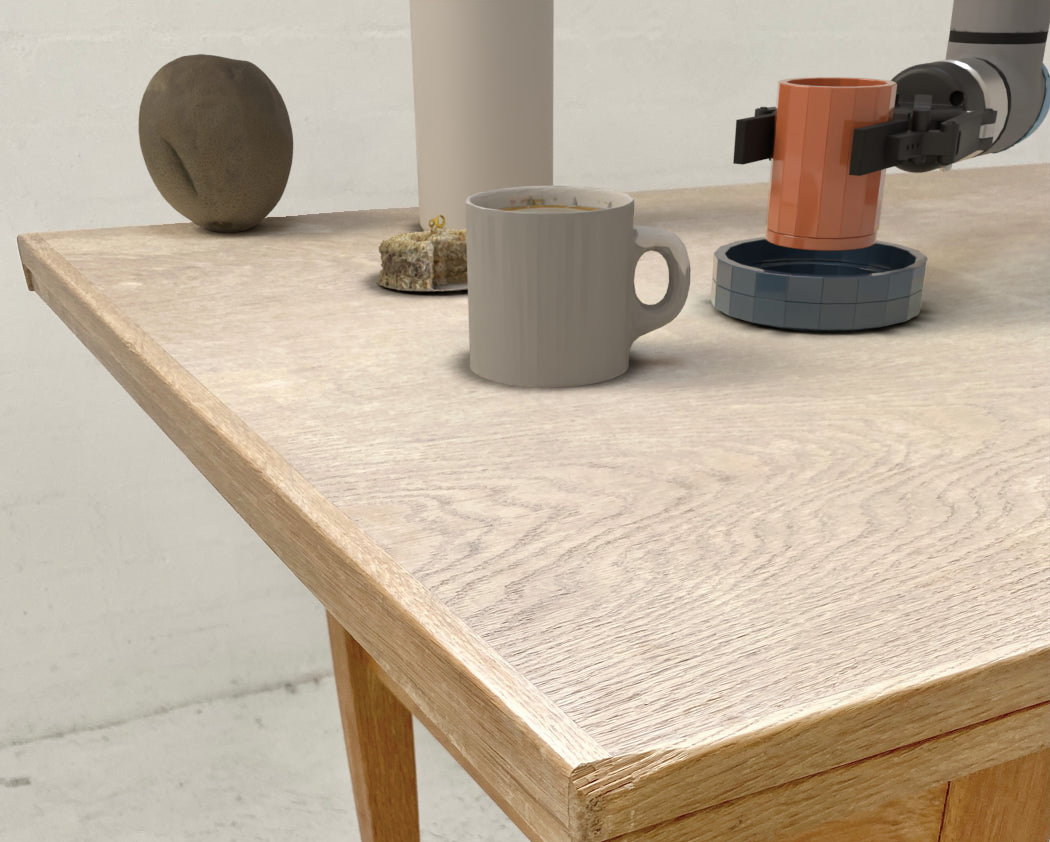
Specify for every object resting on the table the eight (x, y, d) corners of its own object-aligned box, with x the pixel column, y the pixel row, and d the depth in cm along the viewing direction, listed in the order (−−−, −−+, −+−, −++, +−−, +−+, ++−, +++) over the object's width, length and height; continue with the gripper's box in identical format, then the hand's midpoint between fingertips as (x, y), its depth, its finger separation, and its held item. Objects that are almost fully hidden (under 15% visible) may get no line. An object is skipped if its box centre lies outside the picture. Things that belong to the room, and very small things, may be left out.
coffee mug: (455, 387, 77) (448, 211, 72) (486, 344, 86) (483, 184, 81) (679, 396, 75) (689, 216, 70) (689, 352, 84) (698, 188, 79)
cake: (351, 292, 102) (343, 220, 99) (445, 274, 108) (440, 206, 105) (434, 302, 95) (428, 224, 93) (529, 282, 101) (526, 209, 99)
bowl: (960, 327, 88) (970, 267, 86) (769, 346, 85) (774, 284, 83) (851, 283, 100) (857, 230, 98) (679, 298, 97) (681, 243, 95)
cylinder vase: (399, 238, 118) (381, -81, 105) (448, 216, 128) (438, -78, 116) (528, 246, 114) (527, -83, 102) (569, 222, 125) (571, -80, 112)
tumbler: (897, 246, 88) (919, 84, 83) (797, 254, 86) (814, 89, 81) (840, 227, 94) (857, 75, 89) (746, 233, 92) (758, 79, 87)
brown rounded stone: (327, 233, 121) (312, 54, 113) (181, 250, 114) (155, 61, 107) (269, 212, 131) (252, 47, 124) (132, 226, 125) (105, 53, 117)
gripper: (1064, 179, 95) (939, 225, 80) (812, 156, 106) (660, 193, 91) (1085, 67, 91) (959, 92, 76) (822, 55, 103) (665, 75, 87)
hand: (796, 147), depth 84 cm, fingers closed on tumbler, 8 cm apart
